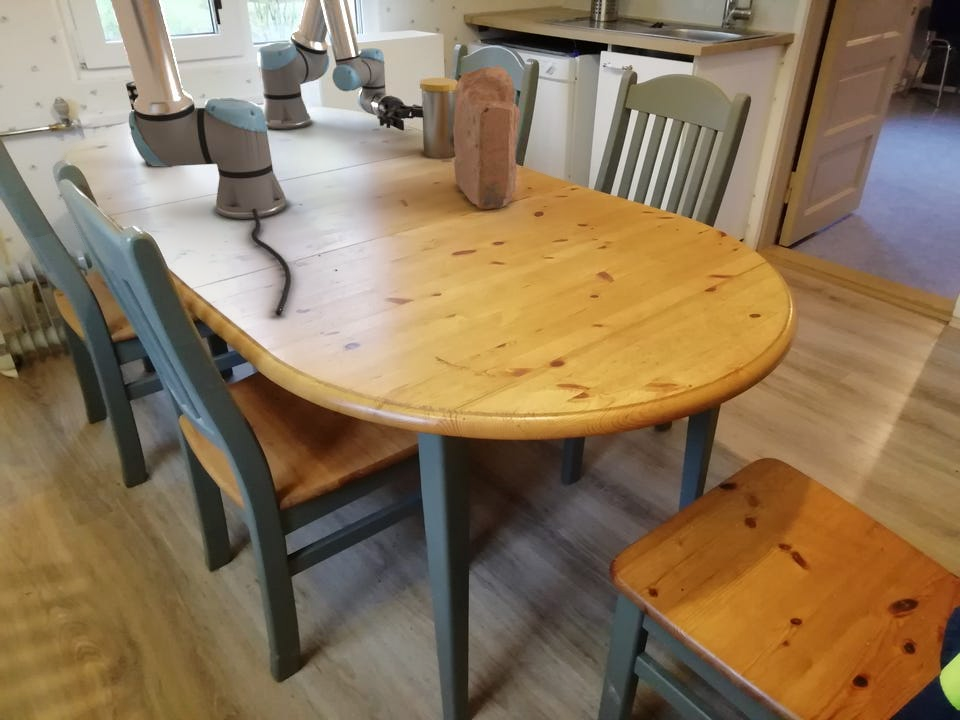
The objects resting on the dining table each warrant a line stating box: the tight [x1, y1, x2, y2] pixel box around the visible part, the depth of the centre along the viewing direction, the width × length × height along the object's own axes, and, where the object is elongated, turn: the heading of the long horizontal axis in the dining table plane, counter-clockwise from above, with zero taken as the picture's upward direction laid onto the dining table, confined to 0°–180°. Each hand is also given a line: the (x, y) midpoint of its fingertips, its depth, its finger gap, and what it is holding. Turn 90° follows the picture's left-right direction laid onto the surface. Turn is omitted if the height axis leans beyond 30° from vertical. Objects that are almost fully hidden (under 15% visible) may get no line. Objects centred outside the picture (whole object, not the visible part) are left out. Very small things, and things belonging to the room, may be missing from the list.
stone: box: [453, 66, 520, 210], centre depth 159 cm, size 22×11×28 cm, turn 18°
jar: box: [421, 89, 456, 159], centre depth 191 cm, size 9×9×19 cm
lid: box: [419, 77, 458, 92], centre depth 186 cm, size 10×10×2 cm
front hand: (190, 25), depth 172 cm, fingers open, 13 cm apart
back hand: (423, 122), depth 200 cm, fingers open, 13 cm apart
